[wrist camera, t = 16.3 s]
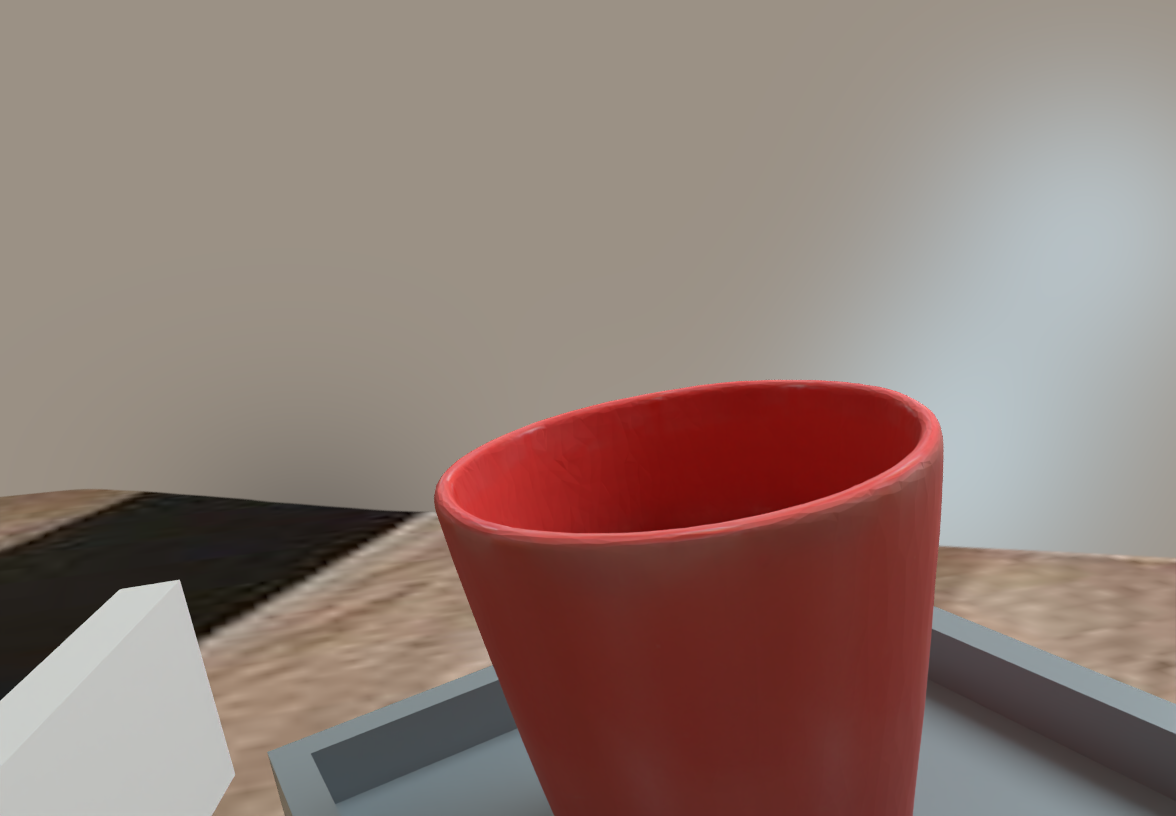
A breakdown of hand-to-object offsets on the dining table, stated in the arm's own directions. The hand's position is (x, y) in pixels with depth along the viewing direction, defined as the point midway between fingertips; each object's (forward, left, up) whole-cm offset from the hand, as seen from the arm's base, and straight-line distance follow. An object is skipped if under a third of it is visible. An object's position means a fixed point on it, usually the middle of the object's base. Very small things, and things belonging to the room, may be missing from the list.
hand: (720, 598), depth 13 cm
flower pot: (-9, +5, -11) cm, 14 cm away
